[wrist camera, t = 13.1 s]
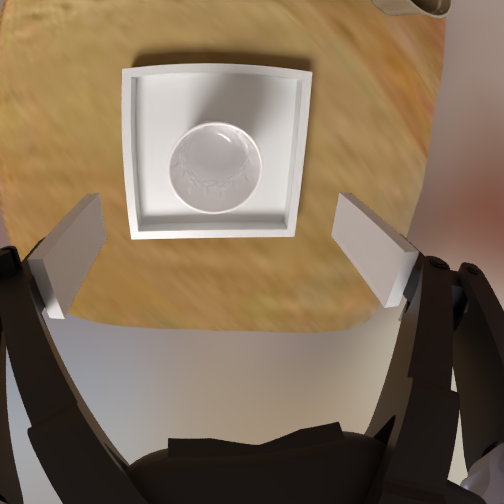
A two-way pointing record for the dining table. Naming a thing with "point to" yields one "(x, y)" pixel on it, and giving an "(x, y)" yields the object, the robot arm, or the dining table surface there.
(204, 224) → the tray
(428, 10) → the flower pot
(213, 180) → the white cup
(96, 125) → the dining table surface
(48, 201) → the dining table surface
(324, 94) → the dining table surface
